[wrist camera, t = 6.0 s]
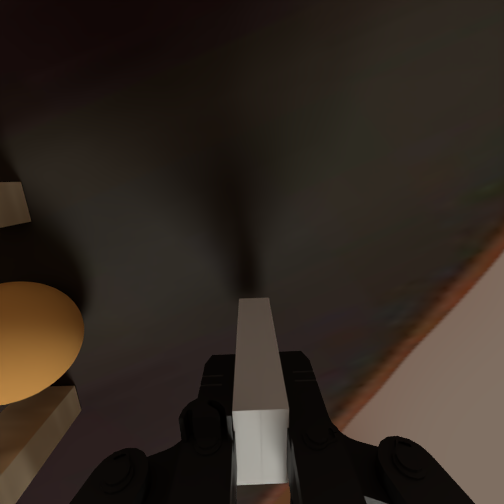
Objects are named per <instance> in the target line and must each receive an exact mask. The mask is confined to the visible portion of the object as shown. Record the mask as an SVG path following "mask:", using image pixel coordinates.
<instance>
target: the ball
mask: <svg viewBox="0 0 504 504" xmlns="http://www.w3.org/2000/svg"><path fill="white" fill-rule="evenodd" d="M83 337H84V323H83V319H82V315H81V313H80V311H79V309H78V307H77V306H76V304H75V303H74V302H73V301H72V300H71V299H70V298H69V297H68V296H67V295H66V294H64V293H63V292H61V291H59V290H58V289H56V288H54V287H51V286H48V285H45V284H41V283H36V282H26V281H17V282H7V283H1V284H0V405H5V404H9V403H13V402H17V401H20V400H23V399H26V398H28V397H30V396H33V395H35V394H37V393H39V392H40V391H42V390H44V389H45V388H47V387H48V386H50V385H51V384H53V383H54V382H55V381H56V380H58V379H59V378H60V377H61V376H62V375H63V374H64V373H65V372H66V371H67V370H68V369H69V367H70V366H71V365H72V363H73V362H74V360H75V359H76V357H77V355H78V353H79V351H80V348H81V345H82V342H83Z"/></svg>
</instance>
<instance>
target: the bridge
mask: <svg viewBox="0 0 504 504" xmlns="http://www.w3.org/2000/svg"><path fill="white" fill-rule="evenodd" d="M26 222H31V218H30V214H29V211H28V207H27V203H26V199H25V195H24V192H23V188H22V184H21V182H0V228H2V227H7V226H12V225H16V224H21V223H26ZM80 412H81V407H80V403H79V400H78V396H77V392H76V388H75V386H50V387H47V388H45V389H44V390H42V391H40V392H39V393H37V394H35V395H33V396H30V397H28V398H26V399H23V400H20V401H17V402H13V403H10V404H9V405H8V406H7V407H6V408H5V409H4V410H3V411H2V412H1V413H0V504H16V502H17V501H18V499H19V498H20V496H21V495H22V494H23V492H24V491H25V489H26V488H27V487H28V485H29V484H30V482H31V481H32V480H33V478H34V477H35V475H36V474H37V472H38V471H39V470H40V468H41V467H42V465H43V464H44V463H45V461H46V460H47V458H48V457H49V456H50V454H51V453H52V451H53V450H54V448H55V447H56V446H57V444H58V443H59V441H60V440H61V439H62V437H63V436H64V434H65V433H66V432H67V430H68V429H69V427H70V426H71V424H72V423H73V422H74V420H75V419H76V417H77V416H78V415H79V413H80Z"/></svg>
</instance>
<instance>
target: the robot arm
mask: <svg viewBox="0 0 504 504" xmlns="http://www.w3.org/2000/svg"><path fill="white" fill-rule="evenodd" d="M179 424H180V432H181V439H182V440H181V441H180V442H179V443H177V444H176V445H175V446H173V447H171V448H169V449H167V450H165V451H162V452H159V453H157V454H154V455H151V456H149V457H146V455H145V453H144V452H143V451H141V450H139V449H137V448H125V449H122V450H120V451H117V452H114V453H113V454H112V455H110V456H109V457H107V458H106V459H104V460H103V461H102V462H101V463H100V464H99V465H98V467H97V468H96V469H95V470H94V471H93V472H92V474H91V475H90V476H89V478H88V479H87V481H86V482H85V483H84V485H83V486H82V487H81V489H80V490H79V491H78V493H77V494H76V495H75V497H74V498H73V500H72V501H71V502H70V504H237V499H236V494H237V485H250V484H274V483H288V479H289V486H290V493H291V499H290V504H475V503H474V502H473V501H472V500H471V499H470V498H469V496H468V495H467V494H466V493H465V492H464V491H463V490H462V489H461V488H460V486H459V485H458V484H457V483H456V482H455V481H454V480H453V479H452V478H451V477H450V476H449V474H448V473H447V472H446V471H445V470H444V469H443V468H442V467H441V465H440V464H439V463H438V462H437V461H436V460H435V459H434V458H433V457H432V456H431V455H430V454H429V453H428V452H427V451H426V450H425V449H424V448H422V447H421V446H420V445H419V444H417V443H415V442H413V441H411V440H410V439H407V438H403V437H399V436H391V437H386V438H385V439H383V440H382V441H381V442H380V444H379V446H378V447H377V446H373V445H370V444H366V443H362V442H359V441H356V440H353V439H351V438H349V437H347V436H346V435H344V434H342V433H341V432H340V431H339V430H338V428H337V427H336V426H335V425H334V424H333V423H332V422H331V420H330V418H329V416H328V413H327V410H326V407H325V404H324V401H323V398H322V395H321V393H320V390H319V387H318V384H317V381H316V378H315V375H314V372H313V369H312V366H311V363H310V360H309V359H308V358H307V357H306V356H305V355H304V354H303V353H302V352H301V351H289V352H279V351H278V345H277V340H276V335H275V329H274V324H273V318H272V313H271V307H270V302H269V298H244V299H239V309H238V325H237V341H236V354H230V355H212V356H211V358H210V359H209V360H208V361H207V363H206V364H205V367H204V372H203V377H202V381H201V387H200V390H199V394H198V399H196V400H194V401H192V402H190V403H189V404H188V405H187V406H186V407H185V408H184V409H183V410H182V412H181V414H180V416H179Z"/></svg>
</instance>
